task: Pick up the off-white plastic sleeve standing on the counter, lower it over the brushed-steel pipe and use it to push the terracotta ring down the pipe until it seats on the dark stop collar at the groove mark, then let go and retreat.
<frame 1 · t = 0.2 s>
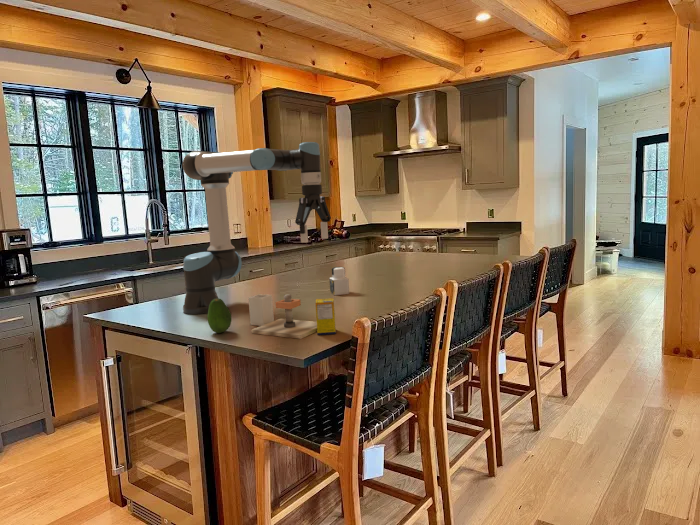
hand: (314, 240, 200), 28 cm above the countertop, fingers open, 13 cm apart
sleeve: (262, 323, 189), on the countertop
ring: (288, 303, 177), point 9 cm above the countertop, slide at 0.0 cm
pipe stand: (289, 329, 178), on the countertop
supplement box: (326, 333, 172), on the countertop
avocado: (220, 333, 179), on the countertop
medicine bottle: (339, 293, 238), on the countertop
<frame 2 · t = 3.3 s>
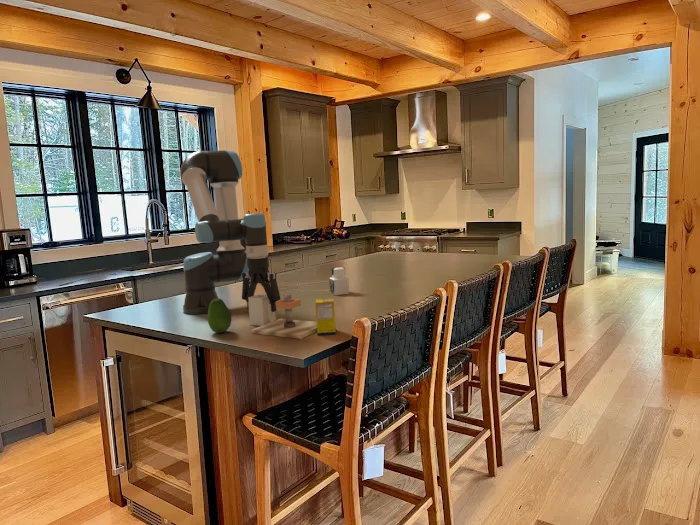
hand: (262, 319, 189), 1 cm above the countertop, fingers open, 8 cm apart
nothing on the countertop moved.
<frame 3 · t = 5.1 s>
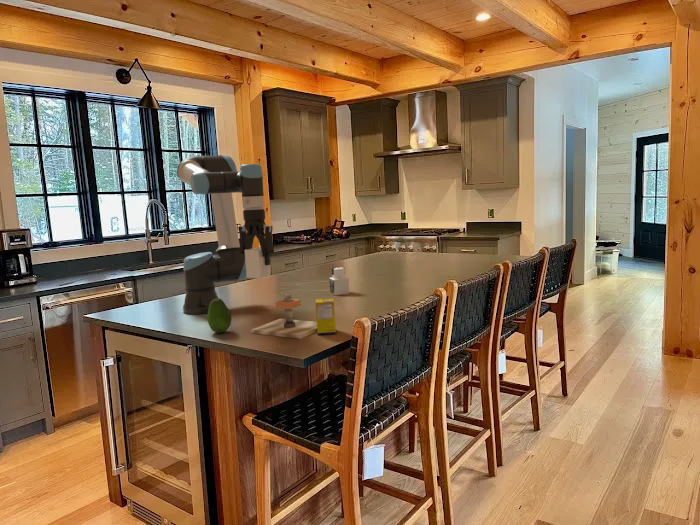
hand: (258, 273, 187), 18 cm above the countertop, fingers closed on sleeve, 6 cm apart
sleeve: (258, 276, 187), point 17 cm above the countertop, touching gripper
everything else where it was.
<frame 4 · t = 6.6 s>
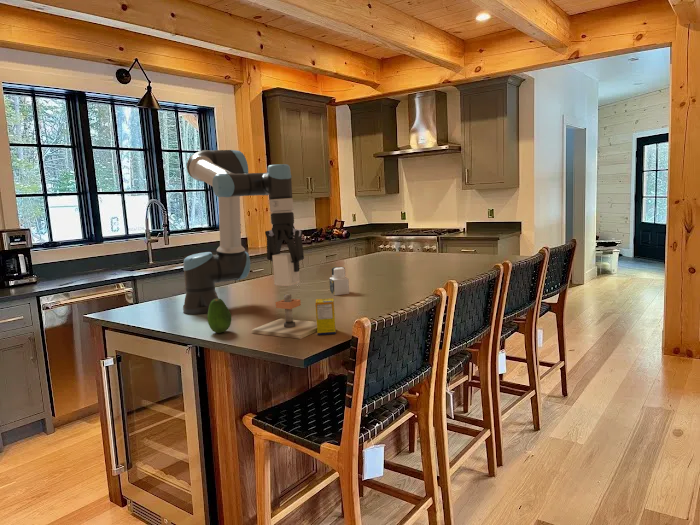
hand: (286, 281, 176), 17 cm above the countertop, fingers closed on sleeve, 6 cm apart
sleeve: (287, 283, 176), point 16 cm above the countertop, touching gripper
everything else where it was.
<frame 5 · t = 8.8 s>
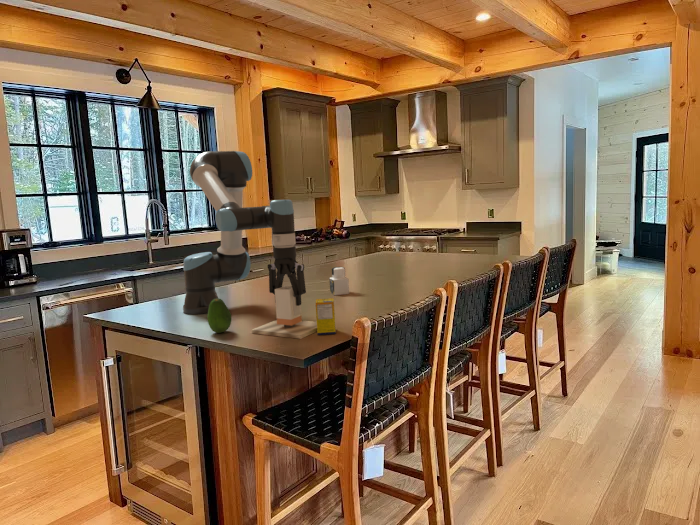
hand: (288, 314, 178), 5 cm above the countertop, fingers closed on sleeve, 6 cm apart
sleeve: (289, 316, 178), point 4 cm above the countertop, touching gripper, ring
ring: (289, 319, 178), point 3 cm above the countertop, slide at 5.5 cm, touching sleeve
everything else where it was.
when the fingers open (5 cm above the countertop, at t = 9.7 s): sleeve stays where it is, resting on ring.
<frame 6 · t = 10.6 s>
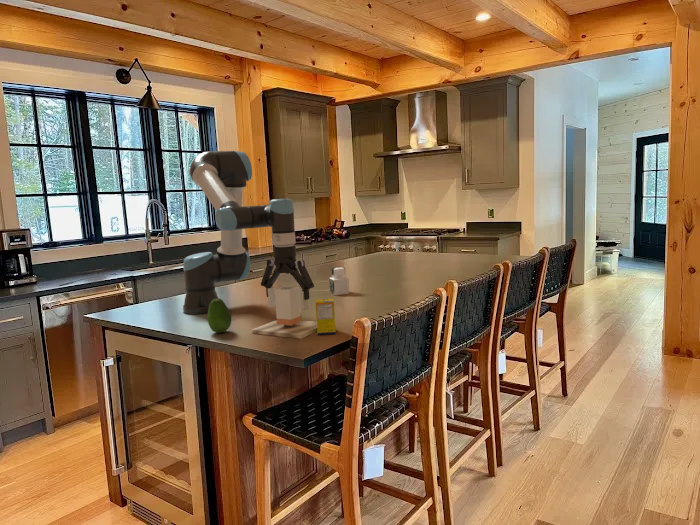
hand: (288, 307, 177), 8 cm above the countertop, fingers open, 13 cm apart
sleeve: (289, 316, 178), point 4 cm above the countertop, touching ring
everything else where it was.
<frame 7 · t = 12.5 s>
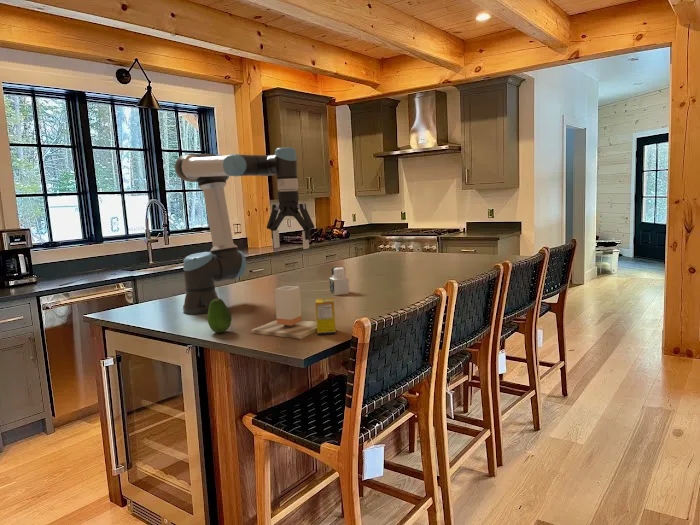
hand: (291, 248, 195), 26 cm above the countertop, fingers open, 13 cm apart
nothing on the countertop moved.
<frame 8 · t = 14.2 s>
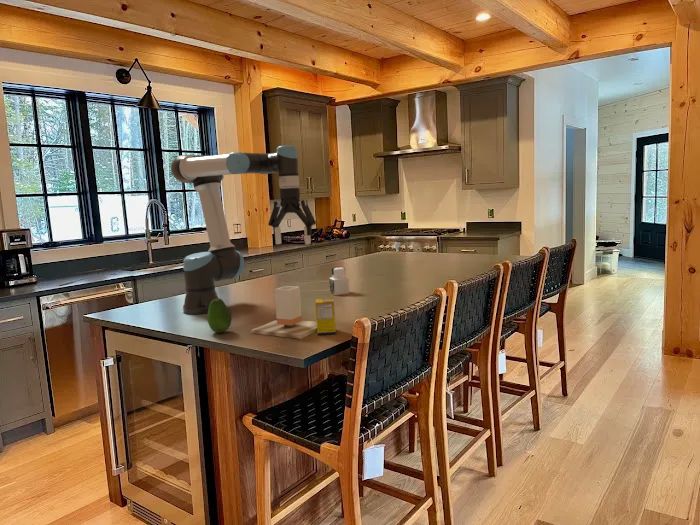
hand: (293, 244, 200), 27 cm above the countertop, fingers open, 13 cm apart
nothing on the countertop moved.
at the end: ring slide at 5.6 cm; the gripper is holding nothing; sleeve 0.0 cm from the pipe stand (horizontally) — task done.
